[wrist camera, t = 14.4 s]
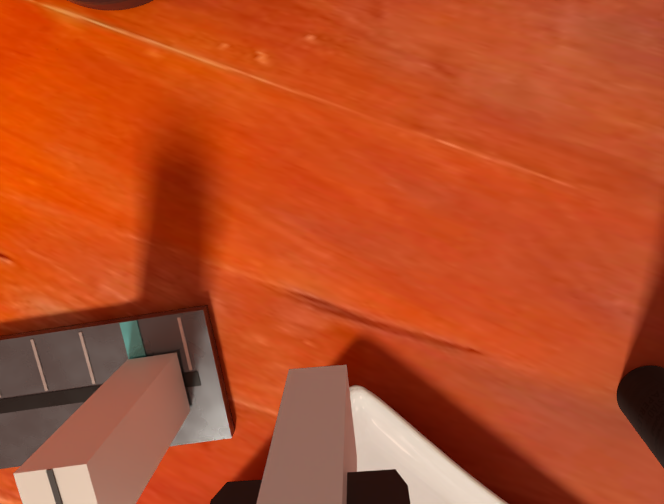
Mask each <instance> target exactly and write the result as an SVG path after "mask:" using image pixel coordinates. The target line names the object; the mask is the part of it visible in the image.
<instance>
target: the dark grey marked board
mask: <svg viewBox="0 0 664 504" xmlns="http://www.w3.org/2000/svg"><path fill="white" fill-rule="evenodd" d="M176 352H177V356H178V360H179V364H180V369H181V373H182V377H183V381H184V386H185V390H186V394H187V398H188V402H189V407H190V412H189V414H188V416H187V417H186V419H185V421H184V422H183V424H182V426H181V428H180V429H179V431H178V433H177V434H176V436H175V438H174V439H173V441H172V443H171V444H170V446H176V445H183V444H191V443H198V442H206V441H213V440H221V439H228V438H232V436H233V434H234V431H235V429H234V424H233V420H232V415H231V411H230V406H229V402H228V397H227V393H226V388H225V384H224V379H223V374H222V370H221V365H220V361H219V356H218V352H217V347H216V343H215V338H214V334H213V329H212V325H211V320H210V316H209V311H208V307H207V305H205V306H198V307H191V308H185V309H178V310H171V311H165V312H158V313H152V314H145V315H138V316H132V317H125V318H118V319H112V320H105V321H99V322H92V323H85V324H79V325H72V326H65V327H59V328H52V329H46V330H39V331H32V332H26V333H19V334H12V335H6V336H0V469H3V468H10V467H18V466H21V465H22V464H23V463H24V462H25V461H26V460H27V459H28V458H29V457H30V456H31V455H32V454H33V453H34V452H35V451H36V450H37V449H38V448H39V447H40V446H41V445H42V444H43V443H44V442H45V441H46V440H47V439H48V438H49V437H50V436H51V435H52V434H53V433H54V432H55V431H56V430H57V429H58V428H59V427H60V426H61V425H62V424H63V423H64V422H65V421H66V420H67V419H68V418H69V417H70V416H71V415H72V414H73V413H74V412H75V411H76V410H77V409H78V408H79V407H80V406H81V405H82V404H83V403H84V402H85V401H86V400H87V399H88V398H89V397H90V396H91V395H92V394H93V393H94V392H95V391H96V390H97V389H98V388H99V387H100V386H101V385H102V384H103V383H104V382H105V381H106V380H107V379H108V378H109V377H110V376H111V375H112V374H113V373H114V372H115V371H116V370H117V369H118V368H119V367H121V366H122V365H123V364H124V363H125V362H126V361H127V360H128V359H135V358H141V357H148V356H155V355H162V354H169V353H176Z"/></svg>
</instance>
